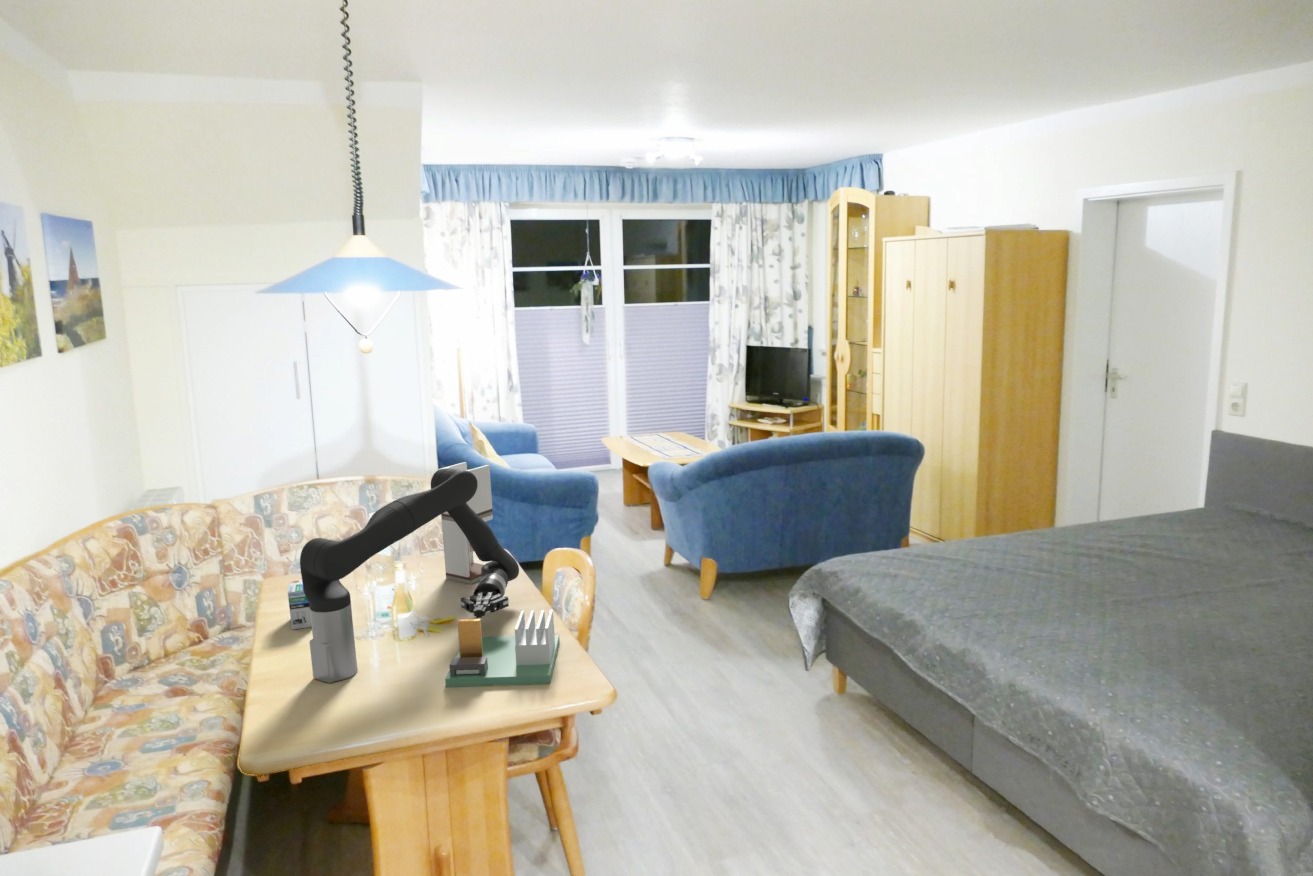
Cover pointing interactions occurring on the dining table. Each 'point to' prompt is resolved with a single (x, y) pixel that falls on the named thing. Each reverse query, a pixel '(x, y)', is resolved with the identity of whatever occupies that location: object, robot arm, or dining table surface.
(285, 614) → the dining table surface
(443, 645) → the dining table surface
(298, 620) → the light bulb box
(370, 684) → the dining table surface
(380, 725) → the dining table surface
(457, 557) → the notched white tower
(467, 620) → the upright wooden plank
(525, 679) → the heatsink board
